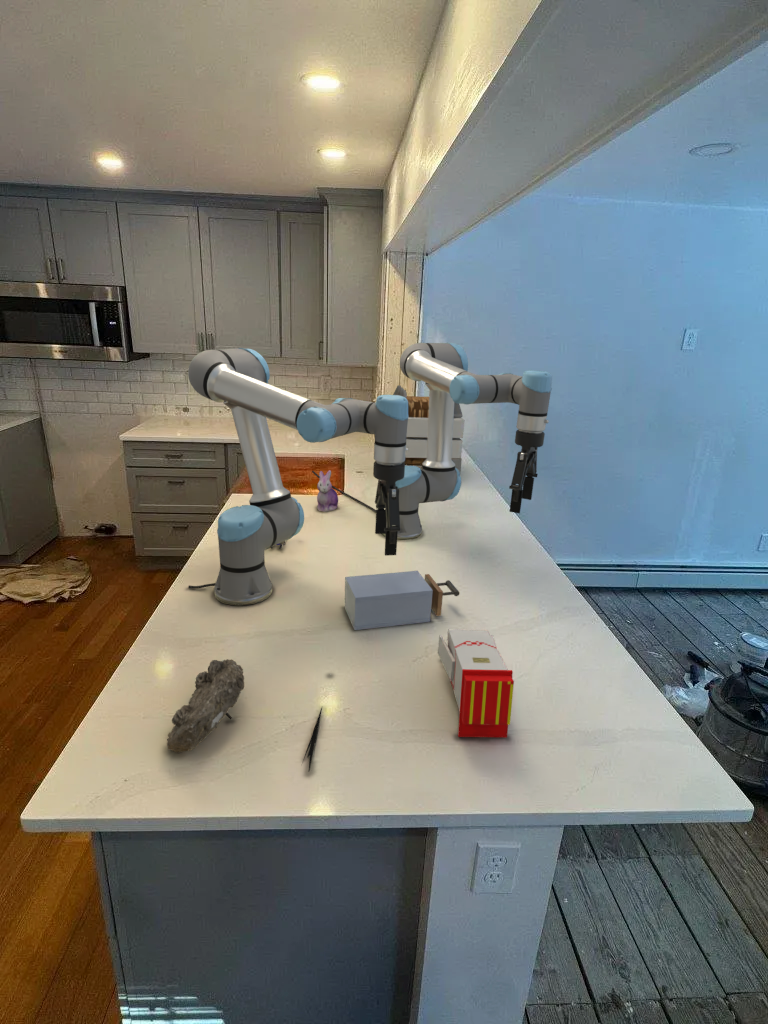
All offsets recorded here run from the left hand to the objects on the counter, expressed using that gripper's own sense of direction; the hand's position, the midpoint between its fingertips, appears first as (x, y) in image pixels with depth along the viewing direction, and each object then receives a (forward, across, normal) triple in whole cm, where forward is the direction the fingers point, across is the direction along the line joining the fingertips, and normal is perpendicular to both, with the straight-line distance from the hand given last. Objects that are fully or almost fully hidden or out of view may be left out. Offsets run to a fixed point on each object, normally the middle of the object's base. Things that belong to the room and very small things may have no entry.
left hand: (385, 543), depth 142 cm
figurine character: (+19, +47, +26) cm, 58 cm away
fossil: (+19, -36, +39) cm, 57 cm away
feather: (+19, -40, +19) cm, 48 cm away
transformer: (+19, +128, -42) cm, 136 cm away
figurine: (+19, +80, +7) cm, 83 cm away
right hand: (-5, +12, -41) cm, 43 cm away
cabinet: (+19, -2, -1) cm, 19 cm away
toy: (+19, -35, -12) cm, 42 cm away
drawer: (+18, -1, -7) cm, 20 cm away
